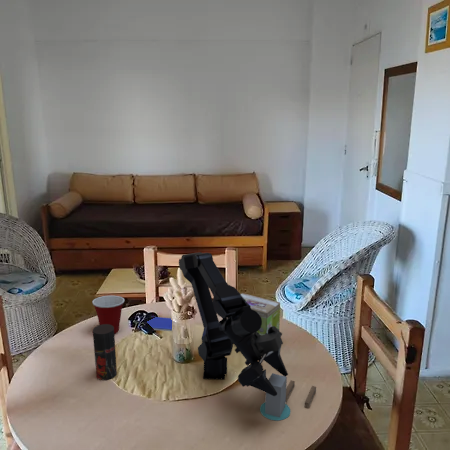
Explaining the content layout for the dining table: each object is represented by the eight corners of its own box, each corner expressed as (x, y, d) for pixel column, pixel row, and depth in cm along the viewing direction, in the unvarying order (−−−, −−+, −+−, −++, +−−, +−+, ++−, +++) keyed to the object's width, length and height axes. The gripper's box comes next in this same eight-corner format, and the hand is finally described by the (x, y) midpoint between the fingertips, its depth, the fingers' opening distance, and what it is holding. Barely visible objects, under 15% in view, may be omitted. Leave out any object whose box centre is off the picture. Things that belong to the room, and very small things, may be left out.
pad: (260, 420, 118) (260, 419, 118) (259, 400, 125) (259, 399, 125) (292, 420, 117) (292, 420, 117) (288, 400, 125) (288, 400, 125)
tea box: (279, 341, 156) (281, 301, 152) (265, 355, 147) (267, 313, 143) (241, 329, 163) (242, 291, 159) (226, 342, 155) (226, 301, 151)
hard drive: (137, 326, 163) (171, 328, 162) (144, 315, 171) (176, 317, 169) (137, 330, 163) (171, 332, 162) (144, 319, 171) (177, 321, 170)
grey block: (265, 413, 120) (266, 383, 118) (271, 402, 124) (272, 373, 122) (279, 417, 118) (281, 387, 116) (285, 406, 123) (286, 376, 120)
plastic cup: (131, 325, 166) (129, 295, 162) (117, 340, 155) (115, 308, 152) (103, 322, 168) (101, 291, 165) (88, 336, 158) (86, 304, 154)
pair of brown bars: (282, 400, 125) (282, 396, 125) (290, 384, 132) (290, 380, 132) (308, 408, 122) (309, 403, 122) (315, 391, 129) (316, 386, 129)
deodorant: (120, 374, 137) (118, 328, 133) (103, 383, 132) (100, 336, 128) (109, 366, 140) (106, 322, 136) (92, 374, 136) (88, 329, 132)
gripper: (250, 339, 108) (294, 392, 107) (275, 307, 124) (313, 352, 123) (220, 361, 113) (261, 411, 112) (247, 327, 130) (283, 371, 128)
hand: (281, 385), depth 119 cm, fingers open, 9 cm apart
